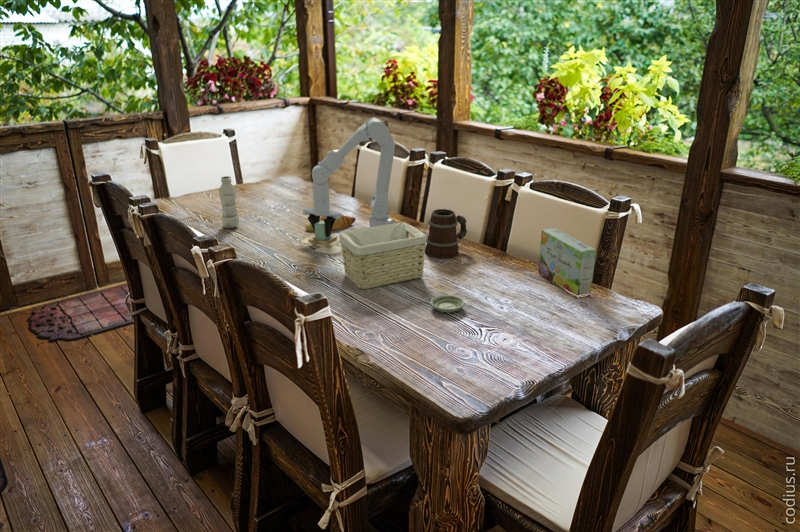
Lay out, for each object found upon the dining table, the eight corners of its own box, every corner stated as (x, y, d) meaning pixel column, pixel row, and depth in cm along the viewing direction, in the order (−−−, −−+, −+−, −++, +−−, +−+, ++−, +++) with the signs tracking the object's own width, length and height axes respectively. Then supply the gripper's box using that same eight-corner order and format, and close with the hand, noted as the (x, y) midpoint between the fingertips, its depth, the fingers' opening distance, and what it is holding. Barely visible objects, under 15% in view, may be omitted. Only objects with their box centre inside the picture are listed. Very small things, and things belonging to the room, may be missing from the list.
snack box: (536, 273, 196) (540, 229, 190) (551, 270, 197) (555, 227, 192) (575, 299, 177) (582, 251, 171) (591, 296, 179) (598, 248, 173)
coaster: (345, 249, 214) (345, 247, 214) (332, 256, 208) (332, 254, 208) (327, 245, 218) (326, 243, 218) (313, 252, 211) (313, 250, 211)
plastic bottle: (242, 225, 239) (237, 175, 232) (236, 230, 233) (231, 179, 225) (226, 224, 240) (221, 175, 232) (219, 229, 233) (214, 179, 226)
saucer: (443, 299, 177) (443, 291, 176) (471, 308, 171) (471, 300, 170) (423, 310, 170) (423, 302, 169) (450, 320, 164) (451, 312, 163)
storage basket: (358, 293, 180) (357, 246, 175) (338, 274, 194) (336, 230, 188) (427, 279, 190) (429, 235, 185) (404, 262, 204) (405, 220, 198)
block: (330, 238, 222) (329, 222, 219) (324, 242, 219) (323, 225, 216) (321, 237, 224) (320, 220, 221) (315, 240, 220) (314, 223, 218)
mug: (436, 261, 205) (437, 218, 199) (419, 250, 214) (420, 209, 209) (474, 254, 211) (477, 212, 206) (456, 243, 221) (458, 204, 216)
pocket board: (347, 240, 223) (347, 236, 222) (330, 249, 214) (330, 245, 213) (316, 234, 229) (316, 230, 228) (298, 243, 220) (298, 238, 219)
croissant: (309, 243, 231) (311, 228, 225) (299, 225, 236) (301, 210, 230) (358, 233, 241) (362, 219, 235) (348, 216, 246) (351, 201, 240)
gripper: (344, 198, 216) (345, 234, 221) (309, 194, 222) (311, 229, 227) (334, 203, 210) (336, 240, 215) (299, 199, 215) (301, 235, 221)
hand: (322, 235), depth 221 cm, fingers closed on block, 4 cm apart
